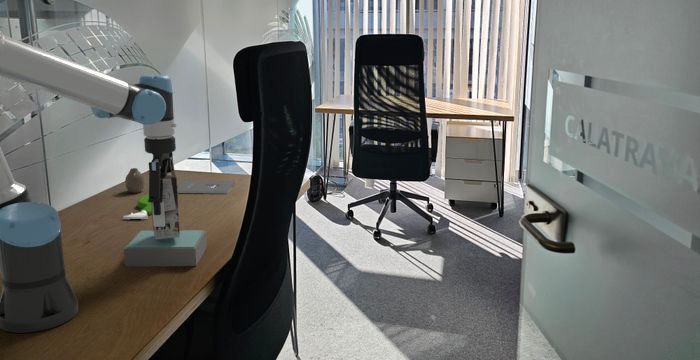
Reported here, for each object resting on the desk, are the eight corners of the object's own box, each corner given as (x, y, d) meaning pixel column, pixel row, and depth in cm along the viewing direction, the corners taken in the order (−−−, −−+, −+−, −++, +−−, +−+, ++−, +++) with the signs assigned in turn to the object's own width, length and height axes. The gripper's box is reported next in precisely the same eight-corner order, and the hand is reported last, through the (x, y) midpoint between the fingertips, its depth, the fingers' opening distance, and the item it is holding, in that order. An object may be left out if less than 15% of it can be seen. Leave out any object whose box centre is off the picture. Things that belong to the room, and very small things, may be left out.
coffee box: (180, 237, 154) (177, 177, 150) (154, 240, 151) (150, 179, 148) (177, 226, 162) (173, 169, 158) (152, 229, 160) (148, 171, 156)
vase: (121, 193, 219) (119, 170, 217) (133, 188, 225) (131, 166, 223) (137, 194, 217) (136, 171, 215) (149, 190, 223) (147, 167, 221)
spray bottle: (177, 200, 212) (153, 223, 188) (147, 199, 212) (119, 222, 188) (177, 192, 211) (152, 214, 187) (146, 191, 211) (118, 213, 187)
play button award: (184, 180, 235) (235, 180, 235) (185, 184, 235) (235, 184, 235) (173, 190, 219) (227, 191, 219) (173, 194, 219) (227, 195, 219)
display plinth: (196, 266, 152) (195, 247, 151) (125, 266, 151) (123, 248, 150) (207, 246, 165) (206, 229, 164) (141, 247, 165) (140, 230, 164)
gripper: (162, 144, 139) (168, 233, 145) (185, 129, 162) (189, 207, 167) (130, 144, 139) (137, 233, 145) (157, 129, 161) (162, 207, 167)
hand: (165, 219), depth 156 cm, fingers closed on coffee box, 10 cm apart
